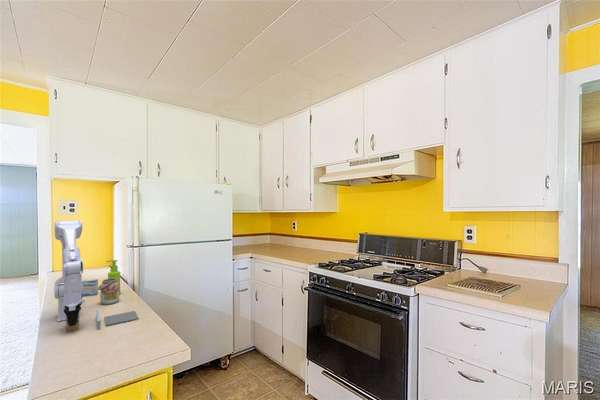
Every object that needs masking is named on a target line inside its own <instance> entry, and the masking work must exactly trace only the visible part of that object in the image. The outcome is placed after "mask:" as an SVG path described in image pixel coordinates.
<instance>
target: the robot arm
mask: <svg viewBox="0 0 600 400" xmlns="http://www.w3.org/2000/svg"><path fill="white" fill-rule="evenodd" d="M82 233H83V221H82V220H81V219H77V220H73V219H72V220H56V221H55V222H54V237H55V240H58V241H60V243H61V253H62V254H61V255H62V256H61V258H62V259H61V260H62V261H61V264H62V265H61V266H62V267H61V268H62V271H61V272H62V274H61V276H60V278H58V279H57V280H55V282H54V289H53V290H54V299H56V300H57V303H58V305H57V308H58V309H57V317H56V319H55V320H56V323H57V322H62V321H66V316H67V320H68V324H69V326H74V325H76V323H77V318H78V314H79V317H80V314H81V313H80V311H81V310H82V306H81V305H82V304H81V302H82V303H84V302H85V301H86V299H85V298H83V297H82V290H83V287H82V281H83V280H82V278H83V277H82V274H83V273H84V262H83V260H82V257H81V250H80V248H79V247H78V246H77V239H80V238H81V236H82Z"/></svg>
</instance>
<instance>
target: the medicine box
mask: <svg viewBox="0 0 600 400" xmlns="http://www.w3.org/2000/svg"><path fill="white" fill-rule="evenodd" d="M82 287H83V290H82V298H85V297H93V296H97V295H98V294H99V290H98V287H99V279H98V278H95V279H87V280H86V279H84V280H82Z"/></svg>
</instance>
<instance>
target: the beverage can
mask: <svg viewBox="0 0 600 400" xmlns="http://www.w3.org/2000/svg"><path fill="white" fill-rule="evenodd" d="M101 282H102V283H101V284H100V285H98V291H100V304H101V305H102V306H109V305H115V304H117V303H118V302H119V300H120V295H119V283H118V282H117V279H116V278H111V279H108V278H106V279H103V280H102V281H101Z"/></svg>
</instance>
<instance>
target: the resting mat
mask: <svg viewBox="0 0 600 400" xmlns="http://www.w3.org/2000/svg"><path fill="white" fill-rule="evenodd" d="M103 318H104V323H105V327H110V326H114V325H115V326H116V325H120V324H124V323H130V322H134V321H138V320H137V319H139V316H138V313H137V312H136V311H135V310H132V311H127V312H122V313H117V314H112V315H107V316H106V315H105V316H104V317H103ZM133 320H134V321H133Z"/></svg>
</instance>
